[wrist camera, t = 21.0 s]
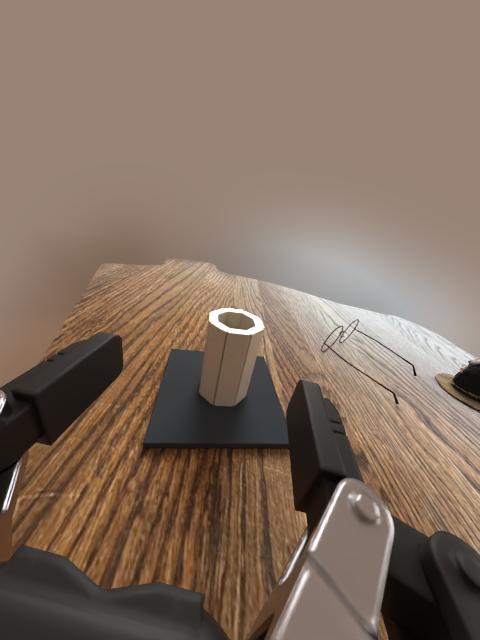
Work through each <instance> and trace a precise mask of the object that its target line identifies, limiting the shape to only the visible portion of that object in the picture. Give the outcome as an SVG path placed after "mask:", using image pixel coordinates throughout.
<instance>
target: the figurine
mask: <svg viewBox="0 0 480 640" xmlns="http://www.w3.org/2000/svg"><path fill="white" fill-rule="evenodd" d="M468 363H469V365H468V366H467V367H462V368H460V370H461V371H460V372H459V373H457V374H456V375H455V376H452V375H449V374H443V373H442V374H437V375H436V378H435V379H436V380H437V381H438V382H439V383H440V385H441V387H442V388H443V389H444V390H445V389H446V390H447V391H448V392H449V393H451V394H452V395H453V396H455V397H456V398H458V399H460V400H461V401H463V402H465V403H466V404H468V405H470V406H471V407H474V408H475V409H477V410H479V411H480V357H479V358H476V359H473V360H470V361H469V362H468ZM446 390H445V391H446ZM448 392H447V393H448Z"/></svg>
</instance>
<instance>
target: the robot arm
mask: <svg viewBox="0 0 480 640" xmlns="http://www.w3.org/2000/svg"><path fill="white" fill-rule="evenodd" d="M122 368H123V351H122V339H121V337H120V336H119V335H115V334H111V333H107V332H98V333H97V334H95V335H94V336H92V337H91V338H89V339H87V340H83V341H80V342H77V343H74V344H71V345H69V346H68V347H66V348H64V349H63V350H61V351H59V352H58V354H55V355H53V356H51V357H50V358H48V359H47V361H43V362H41V363H40V364H38V365H37V366H35V367H33V368H32V369H30V370H29V371H27V372H25V373H24V374H22V375H20V376H19V377H17V378H16V379H14V380H12V381H11V382H9V383H7V384H6V385H4V386H2V387H1V388H0V640H230V639H229V638H228V636H227V635H226V633H225V632H224V630H223V629H222V627H221V626H220V625H219V623H218V622H217V621H216V620H215V619H214V618H213V617H212V615H211V614H209V613H208V612H207V611H206V610H205V609H203V604H204V598H205V594H201V593H197V592H194V591H190V590H186V589H183V588H179V587H175V586H172V585H168V584H164V583H161V582H156V583H149V584H142V585H135V586H128V587H121V588H114V589H102V588H100V587H99V586H98V585H96V584H95V583H94V582H93V581H92V580H91V579H90V578H89V577H88V576H86V575H85V574H84V573H83V572H82V571H81V570H80V569H79V568H78V567H76V566H75V565H74V564H73V563H72V562H71V561H70V560H69V559H68V558H66V557H65V556H61V555H58V554H54V553H50V552H47V551H43V550H39V549H36V548H32V547H28V546H24V545H20V547H19V548H18V549H17V551H16V552H15V553H14V555H13V556H12V557H11V558H10V556H11V550H12V518H13V513H14V509H15V505H16V502H17V498H18V494H19V490H20V487H21V483H22V479H23V475H24V471H25V468H26V464H27V460H28V456H29V451H28V449H29V448H30V447H31V446H32V445H33V444H35V443H36V442H38V443H42V444H46V445H49V446H51V445H52V444H53V443H54V442H55V441H56V439H57V438H58V437H59V436H60V435H61V434H62V433H63V432H64V431H65V430H66V429H67V428H68V427H69V426H70V425H71V424H72V423H73V422H74V421H75V420H76V419H77V418H78V417H79V416H80V415H81V414H82V413H83V412H84V411H85V410H86V409H87V408H88V407H89V406H90V405H91V404H92V403H93V402H94V401H95V400H96V399H97V398H98V397H99V396H100V395H101V394H102V392H103V391H104V390H105V389H106V388H107V387H108V386H109V385H110V384H111V383H112V382H113V381H114V380H115V379H116V378H117V377H118V376H119V374H120V373H121V371H122ZM286 419H287V430H288V441H289V452H290V463H291V474H292V484H293V495H294V506H295V510H296V511H300V512H304V513H306V516H307V524H308V526H307V527H306V528H305V530H304V532H303V534H302V536H301V538H300V540H299V542H298V544H297V546H296V548H295V550H294V551H293V553H292V555H291V557H290V559H289V561H288V563H287V565H286V567H285V569H284V571H283V573H282V574H281V576H280V578H279V580H278V582H277V584H276V586H275V588H274V590H273V591H272V593H271V595H270V597H269V598H268V600H267V601H266V603H265V605H264V606H263V608H262V610H261V611H260V613H259V615H258V617H257V618H256V620H255V622H254V624H253V626H252V628H251V630H250V632H249V633H248V635H247V637H246V639H245V640H378V634H377V629H378V621H379V615H380V612H382V615H383V619H384V623H385V627H386V631H387V635H388V639H389V640H480V555H479V554H478V553H477V552H476V551H475V550H474V549H473V548H472V547H471V546H469V545H468V544H467V543H466V542H464V541H463V540H462V539H460V538H459V537H457V536H455V535H453V534H451V533H449V532H445V531H438V532H436V533H434V534H433V535H431V536H430V537H427V536H426V535H424V534H422V533H421V532H419V531H417V530H416V529H414V528H412V527H411V526H409V525H407V524H406V523H404V522H402V521H401V520H399V519H397V518H396V517H394V516H393V515H391V514H390V512H389V510H388V508H387V507H386V505H385V503H384V502H383V500H382V499H381V498H380V497H379V495H378V494H377V493H376V492H375V491H374V490H373V489H372V488H370V487H369V486H368V485H366V484H365V483H364V480H363V478H362V475H361V472H360V470H359V467H358V464H357V462H356V459H355V456H354V453H353V451H352V448H351V445H350V443H349V440H348V437H347V436H346V432H345V429H344V426H343V425H342V421H341V418H340V415H339V413H338V410H337V409H336V408H335V406H334V405H333V404H332V403H331V401H330V400H329V399H326V398H323V396H322V393H321V390H320V387H319V385H318V384H316V383H312V382H308V381H304V380H299V381H298V383H297V386H296V388H295V390H294V393H293V395H292V397H291V400H290V402H289V405H288V408H287V416H286Z"/></svg>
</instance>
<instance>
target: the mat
mask: <svg viewBox="0 0 480 640" xmlns="http://www.w3.org/2000/svg"><path fill="white" fill-rule="evenodd" d="M203 354H204V352H202V351H190V350H179V349H172V350H171V353H170V356H169V360H168V363H167V366H166V369H165V373H164V376H163V379H162V383H161V386H160V389H159V393H158V396H157V399H156V403H155V406H154V409H153V413H152V416H151V419H150V423H149V426H148V429H147V433H146V436H145V439H144V442H143V447H144V448H289V441H288V430H287V422H286V420H285V417H284V414H283V411H282V408H281V405H280V402H279V400H278V397H277V394H276V391H275V388H274V385H273V382H272V379H271V377H270V374H269V371H268V368H267V365H266V362H265V359H264V357H259V356H257V358H256V361H255V365H254V368H253V372H252V376H251V379H250V383H249V386H248V390H247V394H246V396H245V397H244V398H243V399H242V400H241V401H240V402H239V403H237V404H236V405H235V406H234V405H233V407H230V406H214V404H213V405H212V404H211V403H209V402H208V401H207V400H206V399H205V398H204V397H203V396H201V395H200V393H199V385H200V376H201V369H202V362H203Z"/></svg>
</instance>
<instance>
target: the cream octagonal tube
mask: <svg viewBox="0 0 480 640" xmlns="http://www.w3.org/2000/svg"><path fill="white" fill-rule="evenodd" d="M264 329H265V328H264V326H263V323H262V321H261V319H259V318H258V317H256V316H254V315H252V314H250V313H248V312H246V311H243V310H237V309H230V308H222V309H218V310H215V311H211V312H210V313H209V318H208V326H207V333H206V340H205V347H204V354H203V362H202V369H201V376H200V385H199V393H200V395H201V396H203V397H204V398H205V399H206V400H207V401H208V402H209V403H211V404H212V405H213V404H214V406H230V407H233V405H234V406H235V405H236V404H237V403H239V402H240V401H241V400H242V399H243V398H244V397H245V396H246V394H247V390H248V386H249V383H250V379H251V376H252V372H253V368H254V365H255V361H256V358H257V354H258V350H259V347H260V343H261V339H262V336H263V332H264Z"/></svg>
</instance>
